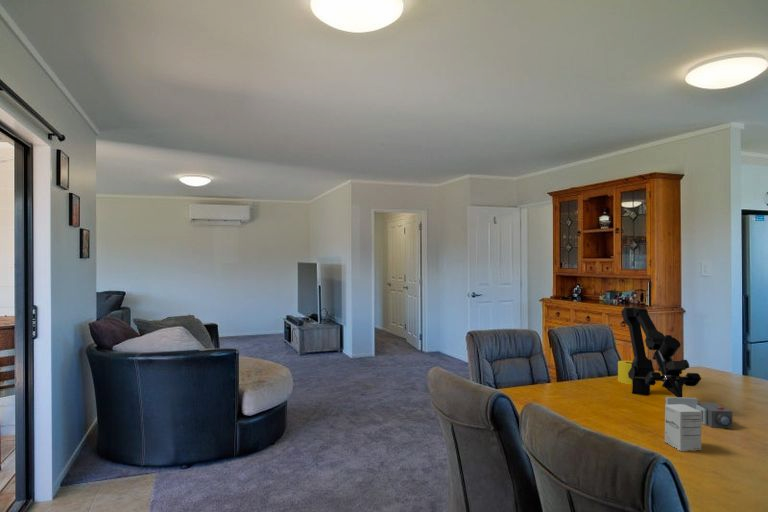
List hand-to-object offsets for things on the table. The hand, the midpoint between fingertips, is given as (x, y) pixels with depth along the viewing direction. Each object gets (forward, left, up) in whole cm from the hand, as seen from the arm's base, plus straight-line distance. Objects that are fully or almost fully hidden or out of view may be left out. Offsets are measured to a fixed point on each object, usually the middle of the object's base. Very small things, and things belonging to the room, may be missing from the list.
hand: (680, 398), depth 175 cm
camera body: (+10, 0, -7) cm, 13 cm away
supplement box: (+1, -31, -8) cm, 32 cm away
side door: (+1, -3, -7) cm, 8 cm away
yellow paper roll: (-21, +47, -8) cm, 52 cm away
